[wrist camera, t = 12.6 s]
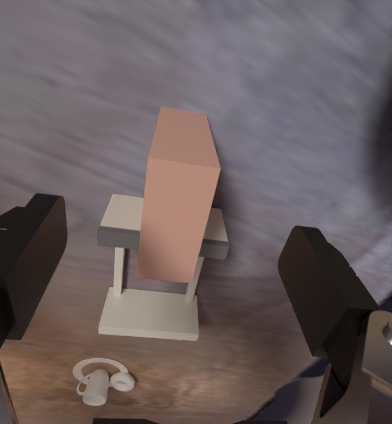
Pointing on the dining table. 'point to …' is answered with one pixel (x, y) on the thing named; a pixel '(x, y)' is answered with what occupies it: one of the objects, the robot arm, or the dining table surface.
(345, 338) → the robot arm
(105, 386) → the white pacifier
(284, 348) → the dining table surface
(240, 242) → the dining table surface
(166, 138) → the pink rectangular block
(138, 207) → the stand
